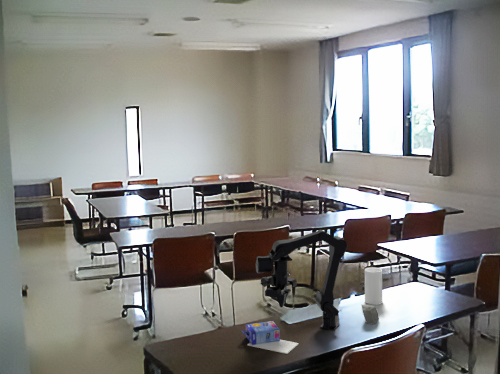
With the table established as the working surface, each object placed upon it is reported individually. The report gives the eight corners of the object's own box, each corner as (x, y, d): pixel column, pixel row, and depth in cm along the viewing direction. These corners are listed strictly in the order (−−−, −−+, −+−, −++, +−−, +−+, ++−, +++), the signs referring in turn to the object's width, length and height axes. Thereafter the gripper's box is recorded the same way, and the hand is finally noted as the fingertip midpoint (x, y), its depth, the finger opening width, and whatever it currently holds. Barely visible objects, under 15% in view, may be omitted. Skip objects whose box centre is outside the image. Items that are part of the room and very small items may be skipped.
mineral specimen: (358, 317, 237) (362, 300, 236) (378, 322, 235) (382, 305, 234) (357, 322, 230) (361, 305, 229) (377, 328, 228) (381, 310, 227)
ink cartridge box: (280, 328, 215) (245, 334, 211) (280, 341, 216) (246, 347, 212) (272, 319, 224) (239, 325, 221) (273, 332, 225) (240, 337, 221)
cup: (361, 300, 261) (361, 268, 259) (376, 297, 263) (376, 266, 261) (370, 305, 253) (370, 272, 251) (385, 303, 255) (385, 270, 253)
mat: (259, 336, 222) (259, 335, 222) (298, 344, 213) (298, 343, 213) (247, 345, 214) (247, 344, 214) (287, 354, 205) (287, 353, 205)
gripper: (274, 263, 235) (274, 297, 237) (253, 274, 219) (254, 311, 221) (297, 266, 229) (297, 301, 231) (277, 278, 213) (277, 315, 215)
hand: (281, 307), depth 225 cm, fingers closed
